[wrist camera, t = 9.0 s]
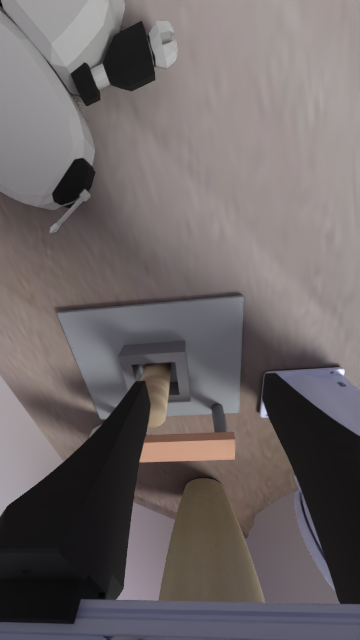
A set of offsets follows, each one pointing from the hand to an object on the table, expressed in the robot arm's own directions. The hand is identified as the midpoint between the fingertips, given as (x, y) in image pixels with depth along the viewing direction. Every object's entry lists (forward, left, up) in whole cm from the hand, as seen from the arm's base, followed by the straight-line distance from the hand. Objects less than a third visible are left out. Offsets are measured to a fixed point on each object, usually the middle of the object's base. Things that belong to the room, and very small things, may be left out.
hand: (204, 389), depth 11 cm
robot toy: (+9, -19, -11) cm, 23 cm away
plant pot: (+1, +36, -11) cm, 38 cm away
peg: (+5, +6, -10) cm, 12 cm away
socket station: (+5, +6, -10) cm, 13 cm away
